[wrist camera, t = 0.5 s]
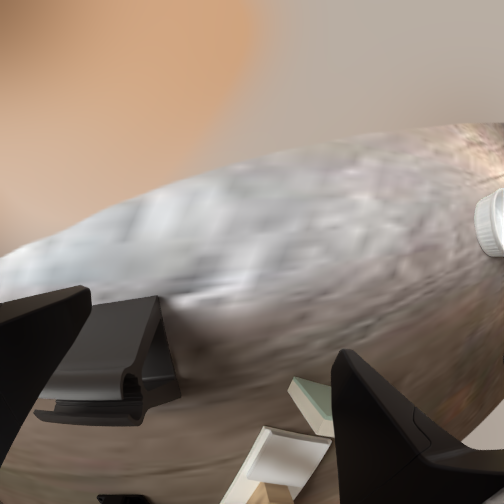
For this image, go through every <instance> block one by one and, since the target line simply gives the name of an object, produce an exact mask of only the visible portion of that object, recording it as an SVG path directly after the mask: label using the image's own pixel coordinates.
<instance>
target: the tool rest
mask: <svg viewBox="0 0 504 504" xmlns="http://www.w3.org/2000/svg"><path fill="white" fill-rule="evenodd" d="M271 430H273V431H277V432H282V433H286V434H291V435H296V436H302V437H307V438H313V439H319V440H326V441H328V442H329V444H330V445H331V443H332V440H331V439H329V438H322V437H316V436H310V435H305V434H300V433H295V432H290V431H285V430H281V429H276V428H272V427H268V426H263V428H262V430H261V432H260V434H259V436H258V438H257V439H256V441H255V443H254V445H253V447H252V449H251V451H250V453H249V454H248V456H247V458H246V460H245V462H244V463H243V465H242V467H241V469H240V470H239V472H238V474H237V476H236V477H235V479H234V481H233V483H232V484H231V486H230V488H229V489H228V491H227V493H226V494H225V496H224V497H223V499H222V501H221V502H220V504H246V503H247V501H248V500H249V498H250V497H251V495H252V494H253V492H254V491H255V489H256V488H257V486H258V485H259V483H260V482H259V481H254V480H248V479H247V476H246V474H247V472H248V471H249V469H250V467H251V465H252V464H253V462H254V460H255V458H256V457H257V455H258V453H259V451H260V449H261V448H262V446H263V444H264V442H265V440H266V438H267V436H268V435H269V433H270V431H271ZM328 448H329V447H328ZM327 450H328V449H327ZM325 453H326V452H325ZM324 455H325V454H324ZM322 458H323V457H322ZM320 461H321V460H320ZM319 463H320V462H319ZM317 466H318V465H317ZM315 469H316V468H315ZM313 472H314V471H313ZM311 475H312V474H311ZM309 478H310V477H309ZM307 481H308V480H307ZM305 484H306V483H305ZM303 487H304V486H303ZM303 487H295V486H288V489H289V491H290V494H291V497H292V499H293V500H294V499H295V498H296V496H297V495H298V494H299V492H300V491H301V489H302V488H303Z"/></svg>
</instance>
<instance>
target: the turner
mask: <svg viewBox="0 0 504 504" xmlns="http://www.w3.org/2000/svg"><path fill="white" fill-rule="evenodd" d="M329 446H330V444H329V442H328V441H326V440H319V439H313V438H307V437H302V436H296V435H291V434H286V433H282V432H277V431H273V430H271V431H270V433H269V435H268V436H267V438H266V440H265V442H264V444H263V446H262V448H261V449H260V451H259V453H258V455H257V457H256V458H255V460H254V462H253V464H252V465H251V467H250V469H249V471H248V472H247V474H246V476H247V479H248V480H254V481H259V482H260V483H259V485H258V486H257V488H256V489H255V491H254V492H253V494H252V495H251V497H250V498H249V500H248V501H247V503H246V504H294V502H293V499H292V497H291V494H290V491H289V489H288V486H295V487H303V486H304V485H305V483H306V482H307V480H308V479H309V477H310V476H311V474H312V473H313V471H314V470H315V468H316V467H317V465H318V464H319V462H320V460H321V459H322V457H323V456H324V454H325V452H326V451H327V449H328V447H329Z"/></svg>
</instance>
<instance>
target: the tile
mask: <svg viewBox="0 0 504 504" xmlns="http://www.w3.org/2000/svg"><path fill="white" fill-rule="evenodd" d="M288 393H289V394H290V396H291V397H292V399H293V400H294V402H295V404H296V405H297V407H298V408H299V410H300V411H301V413H302V414H303V416H304V417H305V419H306V420H307V422H308V423H309V425H310V426H311V428H312V429H313V431H314V432H315V434H316V435H322V436H328V437H335V436H334V427H333V418H332V409H331V386H327V385H324V384H320V383H316V382H312V381H309V380H305V379H302V378H298V377H295V376H294V378H293V380H292V382H291V384H290V386H289V389H288Z"/></svg>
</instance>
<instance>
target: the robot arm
mask: <svg viewBox="0 0 504 504" xmlns="http://www.w3.org/2000/svg"><path fill="white" fill-rule="evenodd" d="M91 311H92V302H91V291H90V289H89V288H87V287H84V286H82V285H79V286H74V287H70V288H65V289H61V290H56V291H52V292H48V293H43V294H39V295H34V296H30V297H26V298H21V299H17V300H13V301H8V302H4V303H0V467H1V465H2V463H3V461H4V459H5V457H6V455H7V453H8V451H9V449H10V447H11V445H12V443H13V441H14V439H15V437H16V436H17V434H18V432H19V430H20V428H21V427H20V426H22V424H23V422H24V421H25V419H26V417H27V415H28V414H29V412H30V410H31V409H32V407H33V405H34V404H35V402H36V400H37V399H38V397H39V395H40V394H41V392H42V390H43V389H44V387H45V386H46V384H47V383H48V381H49V379H50V378H51V376H52V375H53V373H54V372H55V370H56V369H57V367H58V366H59V364H60V363H61V361H62V360H63V358H64V357H65V355H66V354H67V352H68V351H69V350H70V348H71V347H72V345H73V344H74V342H75V340H76V339H77V337H78V335H79V333H80V331H81V330H82V328H83V326H84V324H85V323H86V321H87V319H88V317H89V316H90V314H91ZM331 409H332V418H333V427H334V436H335V446H336V456H337V467H338V480H339V494H340V504H504V449H502V450H476V449H472V448H470V447H467V446H466V445H464V444H463V443H462V442H460V441H459V440H457V439H456V438H455V437H453V436H452V435H451V434H449V433H448V432H447V431H445V430H444V429H442V428H441V427H440V426H439V425H437V424H436V423H435V422H433V421H432V420H431V419H430V418H429V417H427V416H426V415H425V414H424V413H423V412H421V411H420V410H419V409H418V408H417V407H414V404H413V403H411V402H410V401H409V400H408V399H407V398H406V397H405V396H404V395H402V394H401V393H400V392H399V391H398V390H397V389H396V388H395V387H393V386H392V385H391V384H390V383H389V382H388V381H387V380H386V379H385V378H383V377H382V376H381V375H380V374H379V373H378V372H377V371H376V370H374V369H373V368H372V367H371V366H370V365H369V364H368V363H367V362H366V361H364V360H363V359H362V358H361V357H360V356H359V355H358V354H357V353H356V352H354V351H353V350H350V349H341V350H340V351H339V353H338V355H337V357H336V359H335V362H334V364H333V366H332V369H331ZM97 499H98V501H99V502H100V503H101V504H149V503H148V502H147V500H146V499H145V498H144V497H143V496H142V495H98V496H97ZM0 504H3V503H2V502H1V501H0Z"/></svg>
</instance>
